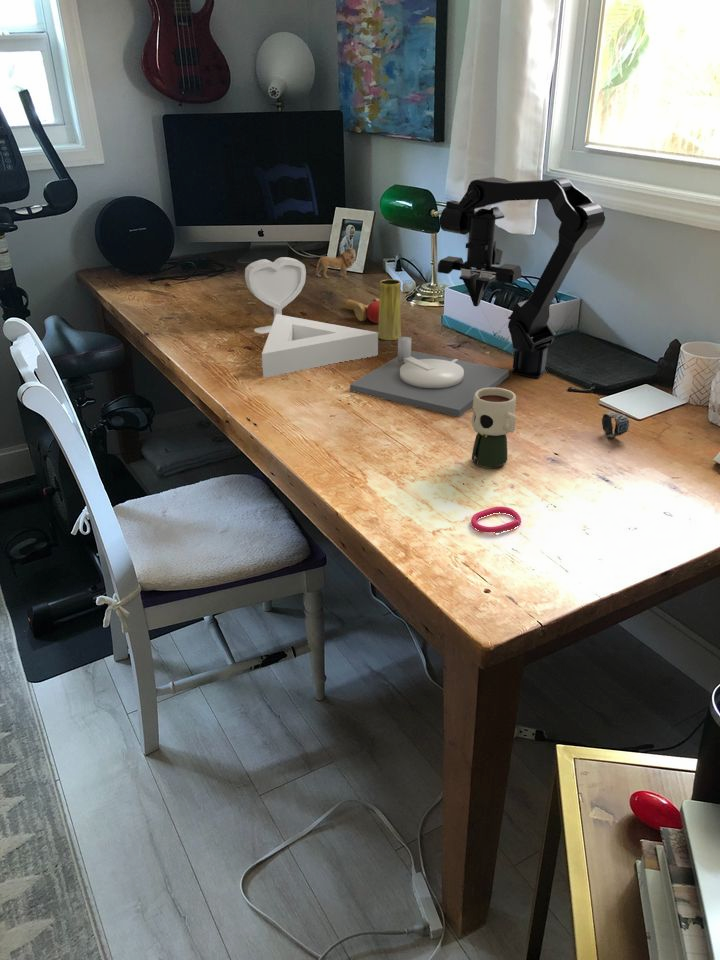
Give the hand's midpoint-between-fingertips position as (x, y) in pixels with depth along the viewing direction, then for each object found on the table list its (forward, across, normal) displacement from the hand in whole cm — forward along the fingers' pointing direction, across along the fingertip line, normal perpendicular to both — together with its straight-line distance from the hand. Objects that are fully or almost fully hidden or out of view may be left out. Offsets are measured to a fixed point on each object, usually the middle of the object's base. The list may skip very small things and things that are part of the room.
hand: (476, 305), depth 179 cm
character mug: (+12, -26, +50) cm, 58 cm away
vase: (+12, +24, -1) cm, 27 cm away
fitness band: (+13, -35, +68) cm, 78 cm away
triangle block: (+13, +34, +26) cm, 45 cm away
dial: (+10, +2, +21) cm, 24 cm away
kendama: (+12, +38, -13) cm, 42 cm away
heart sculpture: (+12, +53, +8) cm, 55 cm away
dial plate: (+12, 0, +22) cm, 25 cm away
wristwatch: (+12, -42, +28) cm, 52 cm away
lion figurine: (+12, +70, -46) cm, 84 cm away
